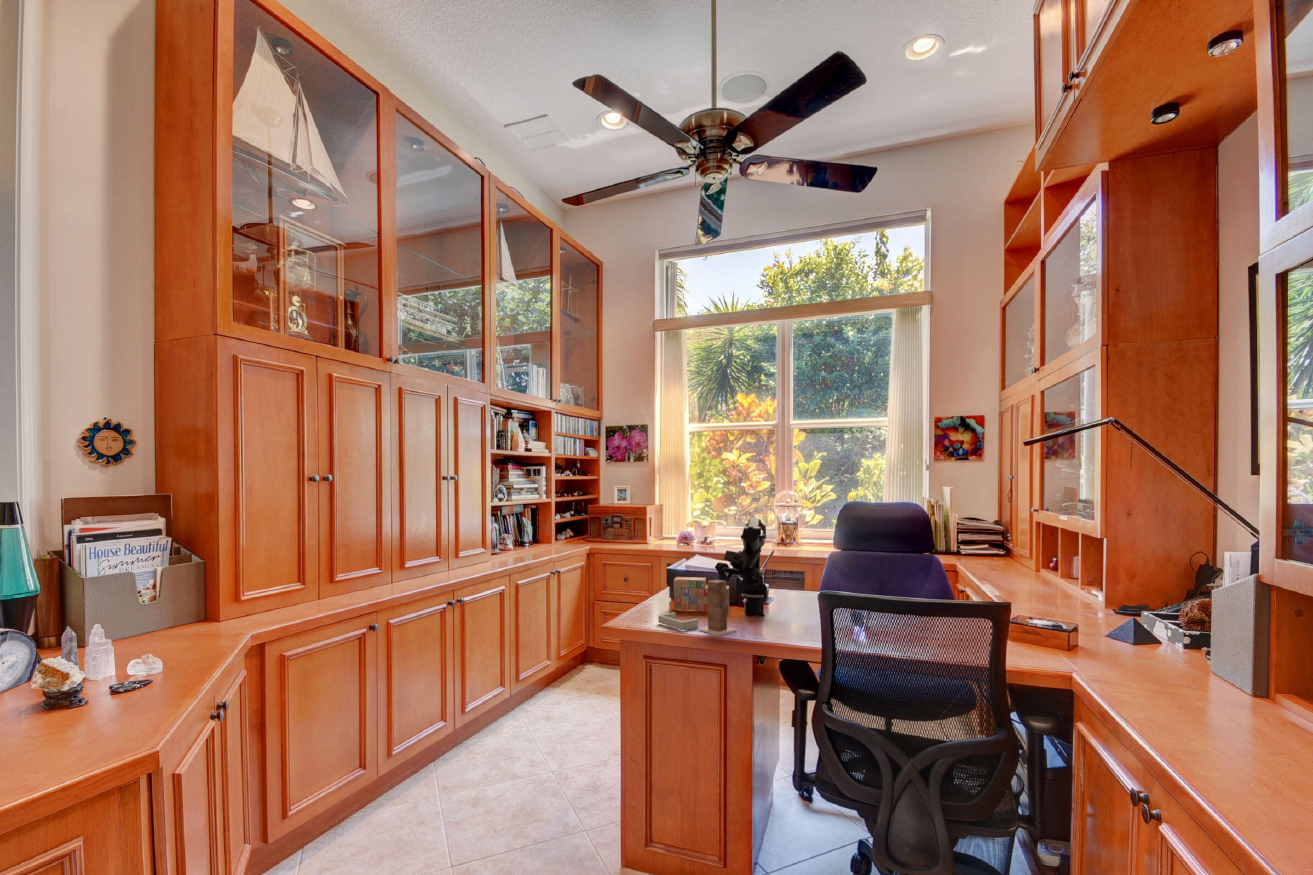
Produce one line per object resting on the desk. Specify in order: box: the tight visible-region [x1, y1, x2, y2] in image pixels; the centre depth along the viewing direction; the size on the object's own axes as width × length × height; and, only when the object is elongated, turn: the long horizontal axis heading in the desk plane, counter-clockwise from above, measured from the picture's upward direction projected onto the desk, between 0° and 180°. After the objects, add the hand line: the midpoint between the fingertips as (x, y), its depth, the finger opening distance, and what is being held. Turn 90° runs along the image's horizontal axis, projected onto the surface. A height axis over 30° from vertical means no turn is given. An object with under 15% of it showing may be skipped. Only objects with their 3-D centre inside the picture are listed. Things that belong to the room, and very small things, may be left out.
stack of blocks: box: [673, 576, 730, 614], centre depth 224 cm, size 21×6×12 cm, turn 79°
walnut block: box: [707, 579, 728, 632], centre depth 193 cm, size 4×4×16 cm
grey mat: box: [698, 626, 737, 637], centre depth 193 cm, size 9×9×1 cm
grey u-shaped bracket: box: [657, 611, 699, 631], centre depth 199 cm, size 7×13×3 cm, turn 39°
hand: (726, 592), depth 197 cm, fingers open, 9 cm apart
